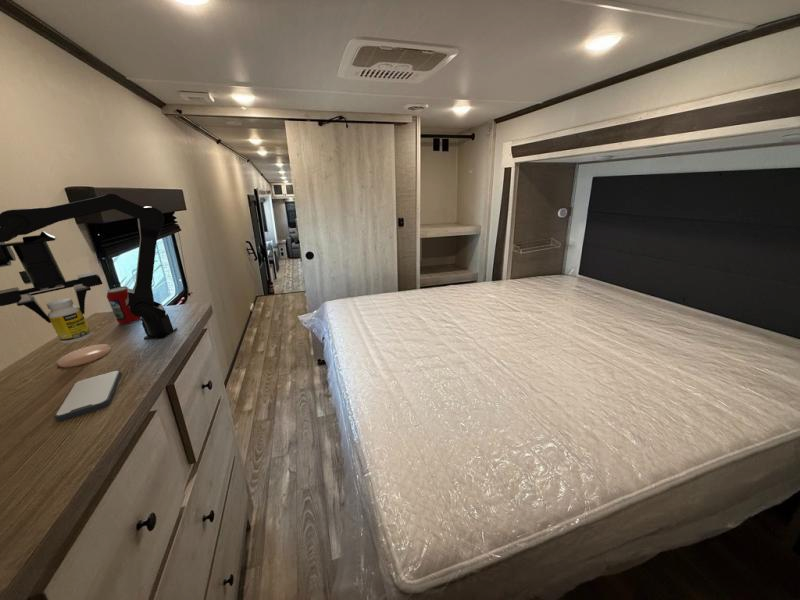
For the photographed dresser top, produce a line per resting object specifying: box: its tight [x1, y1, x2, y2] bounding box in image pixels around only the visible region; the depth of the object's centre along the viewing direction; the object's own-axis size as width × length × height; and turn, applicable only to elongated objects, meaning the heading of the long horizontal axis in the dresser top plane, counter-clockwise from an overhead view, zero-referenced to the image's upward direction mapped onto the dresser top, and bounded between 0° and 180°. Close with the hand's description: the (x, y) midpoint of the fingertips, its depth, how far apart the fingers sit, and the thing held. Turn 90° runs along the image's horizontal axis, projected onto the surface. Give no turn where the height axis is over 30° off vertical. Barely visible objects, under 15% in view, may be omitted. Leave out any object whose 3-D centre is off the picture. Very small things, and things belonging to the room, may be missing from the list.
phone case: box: [53, 370, 122, 423], centre depth 71 cm, size 9×2×16 cm
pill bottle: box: [46, 297, 92, 344], centre depth 85 cm, size 6×6×11 cm
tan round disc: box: [56, 343, 112, 368], centre depth 89 cm, size 11×11×1 cm
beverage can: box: [106, 286, 142, 325], centre depth 109 cm, size 7×7×12 cm
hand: (67, 317), depth 84 cm, fingers closed on pill bottle, 6 cm apart
